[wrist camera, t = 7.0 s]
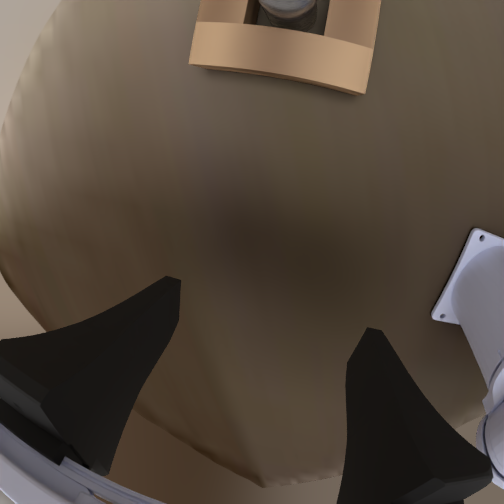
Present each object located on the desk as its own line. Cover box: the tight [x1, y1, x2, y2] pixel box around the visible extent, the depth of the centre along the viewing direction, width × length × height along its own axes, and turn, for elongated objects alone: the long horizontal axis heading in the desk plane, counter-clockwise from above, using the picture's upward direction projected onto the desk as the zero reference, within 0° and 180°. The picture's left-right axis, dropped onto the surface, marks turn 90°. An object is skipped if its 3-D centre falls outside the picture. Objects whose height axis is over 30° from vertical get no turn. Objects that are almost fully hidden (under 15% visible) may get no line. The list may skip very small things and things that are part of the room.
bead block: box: [189, 0, 381, 96], centre depth 12 cm, size 9×9×3 cm
